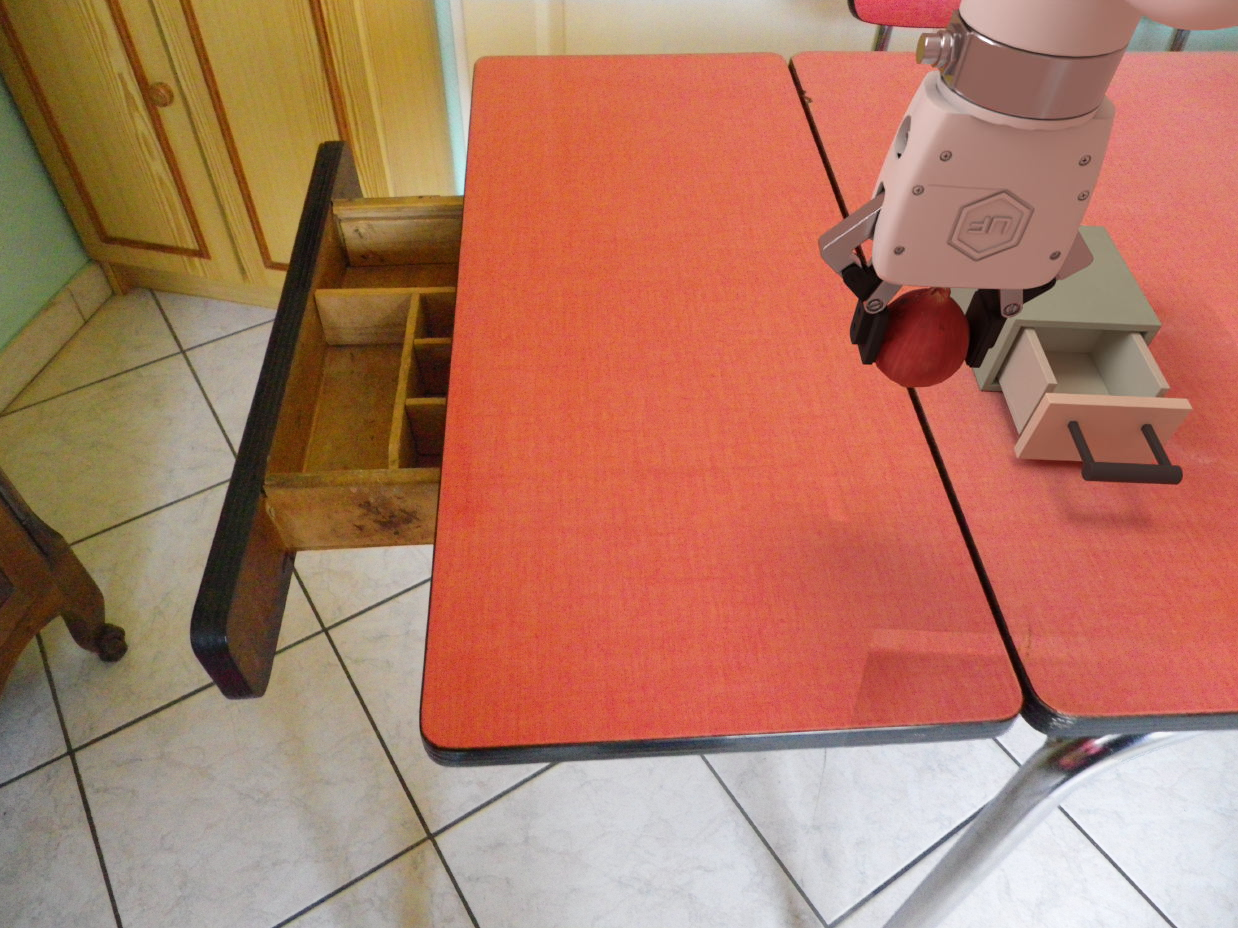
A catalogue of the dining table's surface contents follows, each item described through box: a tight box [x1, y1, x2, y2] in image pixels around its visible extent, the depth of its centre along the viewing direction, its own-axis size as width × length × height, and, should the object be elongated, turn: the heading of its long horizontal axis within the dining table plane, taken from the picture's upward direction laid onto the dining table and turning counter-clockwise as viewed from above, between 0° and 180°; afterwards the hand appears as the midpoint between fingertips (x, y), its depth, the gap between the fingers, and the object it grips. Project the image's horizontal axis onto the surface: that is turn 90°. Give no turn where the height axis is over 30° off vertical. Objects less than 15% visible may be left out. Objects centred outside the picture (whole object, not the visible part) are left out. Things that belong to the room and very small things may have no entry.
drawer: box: [997, 326, 1193, 486], centre depth 72 cm, size 19×11×7 cm, turn 178°
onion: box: [874, 287, 970, 389], centre depth 53 cm, size 6×6×8 cm
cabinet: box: [950, 224, 1163, 392], centre depth 80 cm, size 15×13×9 cm
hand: (916, 349), depth 53 cm, fingers closed on onion, 5 cm apart
